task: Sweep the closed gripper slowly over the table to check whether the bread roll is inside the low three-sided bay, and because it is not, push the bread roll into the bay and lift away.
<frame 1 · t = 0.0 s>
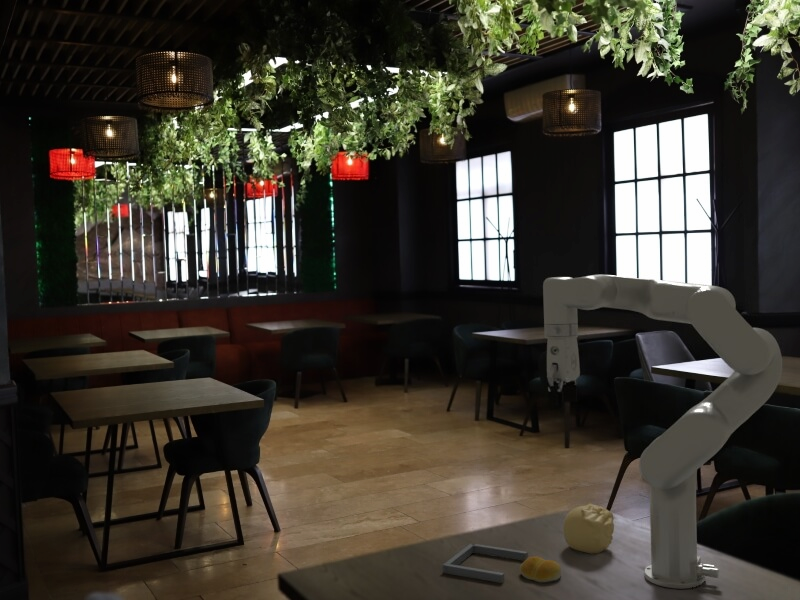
hand: (563, 405, 190), 37 cm above the table, tool pointing down, fingers open, 9 cm apart
bay: (487, 566, 192), on the table
pale yellow rounded lump: (589, 549, 200), on the table
bread roll: (540, 576, 185), on the table
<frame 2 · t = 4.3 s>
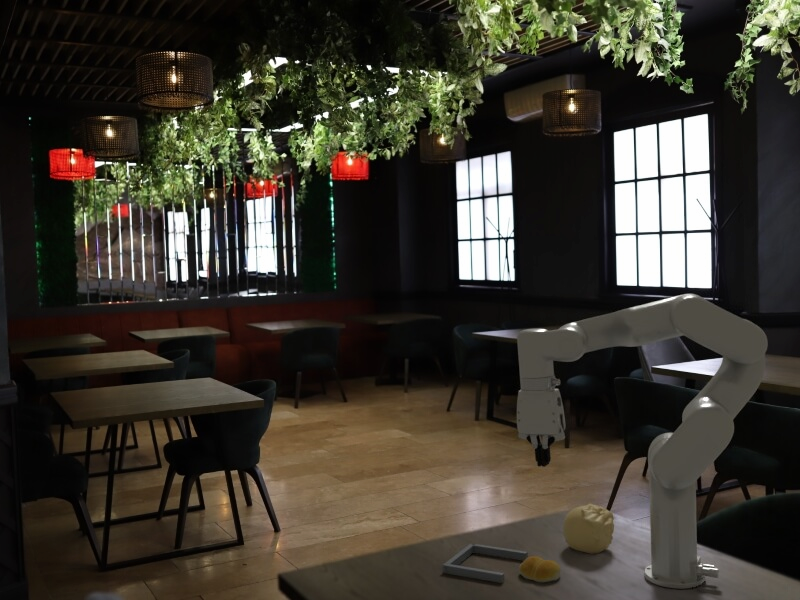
hand: (543, 464, 186), 24 cm above the table, tool pointing down, fingers closed
nothing on the table moved.
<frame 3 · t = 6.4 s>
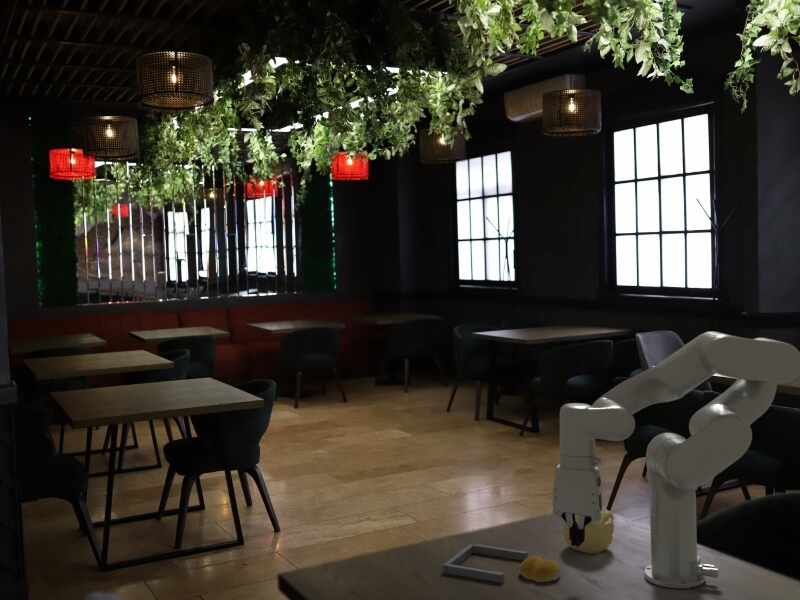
hand: (577, 544, 180), 8 cm above the table, tool pointing down, fingers closed
nothing on the table moved.
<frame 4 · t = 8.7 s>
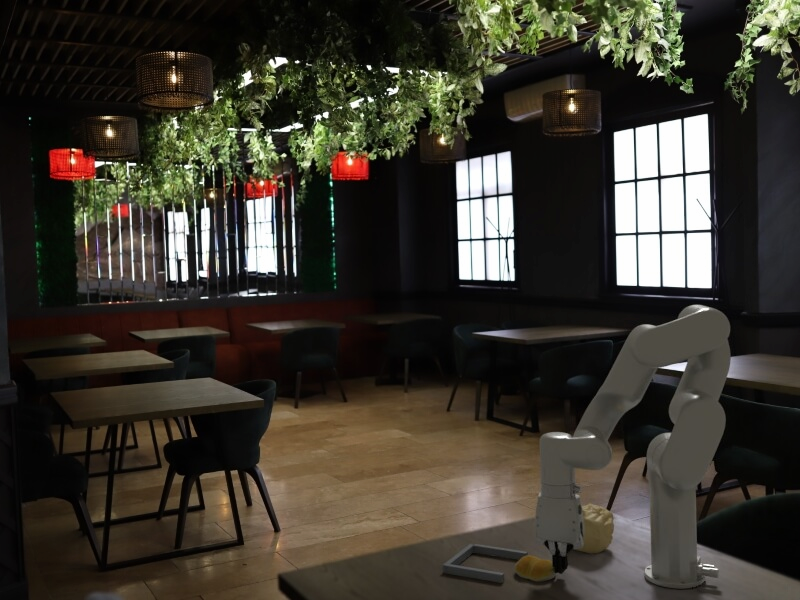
hand: (560, 571, 183), 2 cm above the table, tool pointing down, fingers closed
bread roll: (535, 575, 186), on the table, touching gripper
everything else where it was.
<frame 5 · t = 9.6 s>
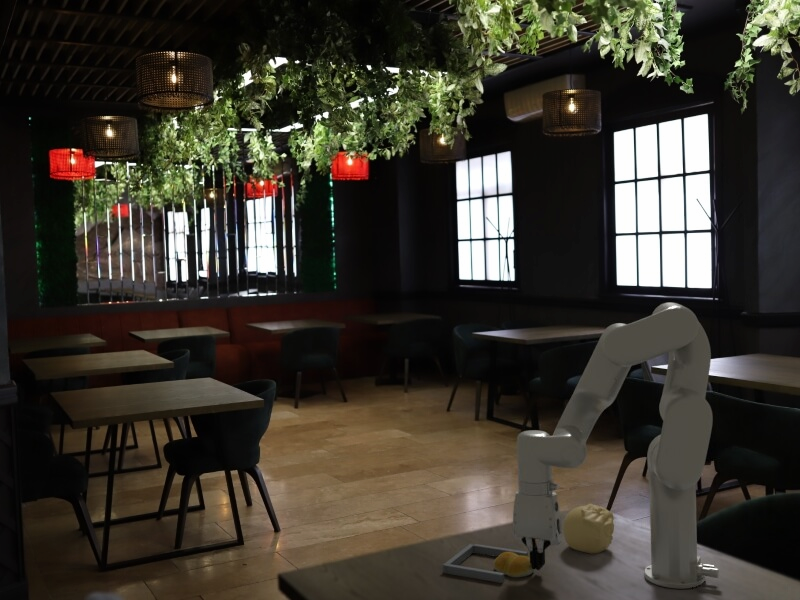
hand: (537, 567, 185), 2 cm above the table, tool pointing down, fingers closed
bread roll: (513, 571, 189), on the table, touching gripper
everything else where it was.
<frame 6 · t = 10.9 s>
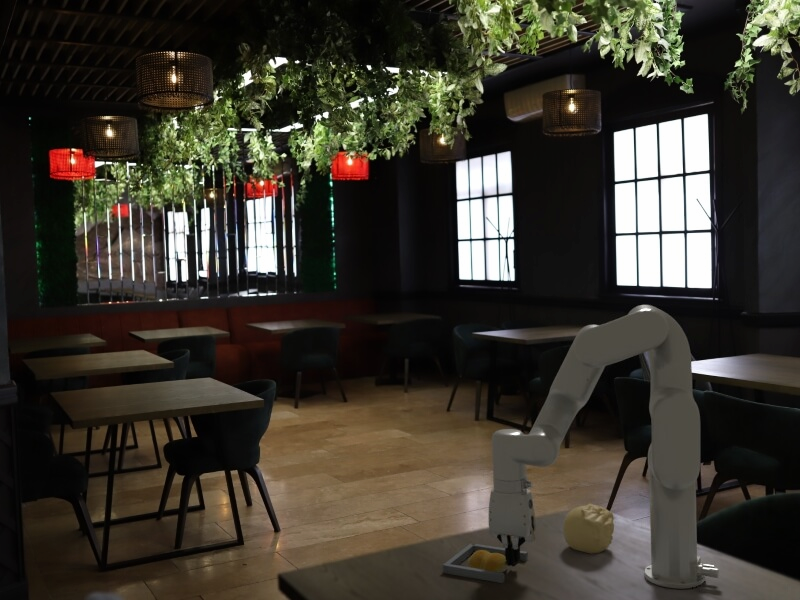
hand: (513, 563, 188), 1 cm above the table, tool pointing down, fingers closed
bread roll: (487, 569, 191), on the table, touching gripper
everything else where it was.
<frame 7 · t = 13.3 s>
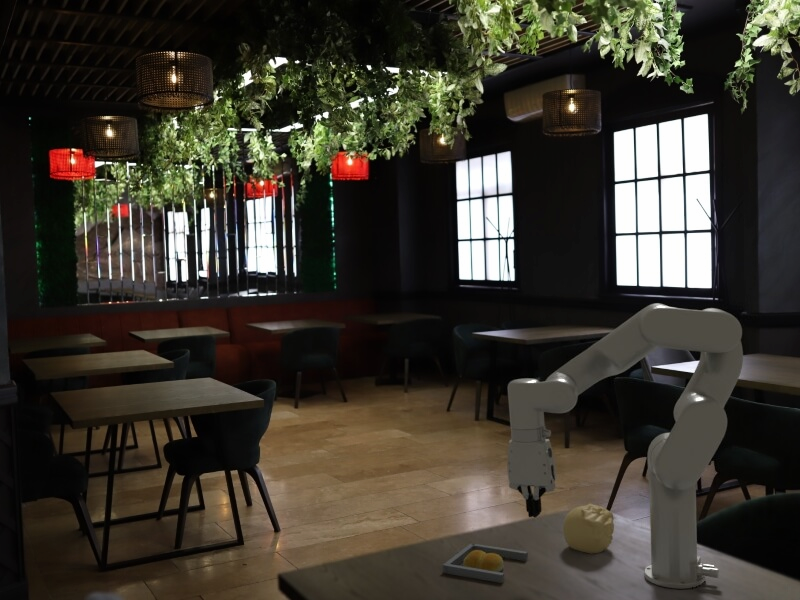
hand: (534, 515, 185), 13 cm above the table, tool pointing down, fingers closed
bread roll: (483, 569, 191), on the table
everything else where it was.
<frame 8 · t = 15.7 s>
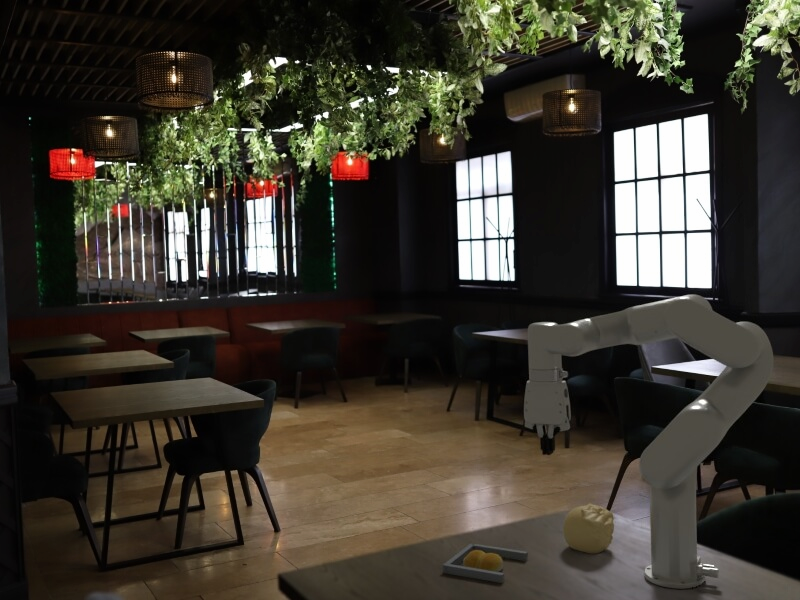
hand: (548, 453, 193), 25 cm above the table, tool pointing down, fingers closed
nothing on the table moved.
at the end: bread roll inside the target area (1.3 cm from its centre), on the table; the gripper is holding nothing; pale yellow rounded lump moved 0.3 cm from its start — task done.
